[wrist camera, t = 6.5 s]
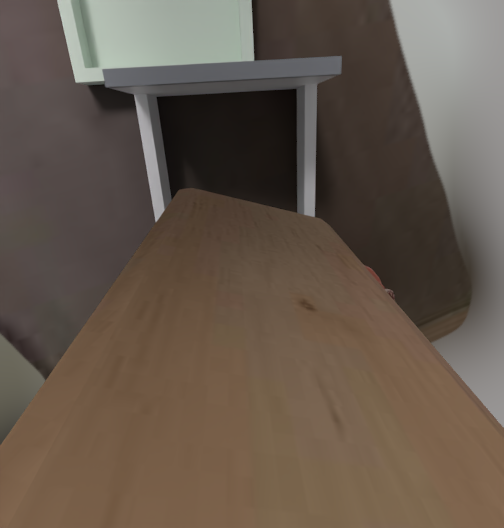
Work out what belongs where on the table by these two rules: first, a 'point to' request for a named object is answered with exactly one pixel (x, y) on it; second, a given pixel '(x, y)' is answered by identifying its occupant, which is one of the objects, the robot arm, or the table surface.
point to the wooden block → (251, 394)
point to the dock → (226, 81)
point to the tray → (154, 34)
